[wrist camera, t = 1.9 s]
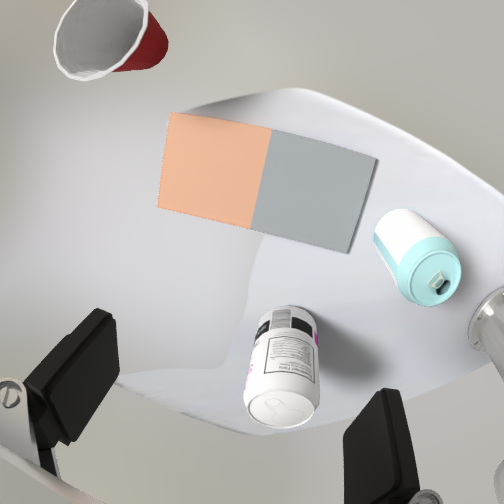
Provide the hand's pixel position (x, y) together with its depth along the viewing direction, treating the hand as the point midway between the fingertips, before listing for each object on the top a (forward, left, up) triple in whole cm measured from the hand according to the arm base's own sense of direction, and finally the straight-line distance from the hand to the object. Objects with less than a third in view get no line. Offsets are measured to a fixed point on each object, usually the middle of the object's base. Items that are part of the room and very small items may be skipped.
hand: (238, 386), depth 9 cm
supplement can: (-5, +17, -28) cm, 33 cm away
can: (-15, 0, -28) cm, 32 cm away
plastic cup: (+20, -16, -28) cm, 37 cm away
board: (+3, -2, -28) cm, 28 cm away
